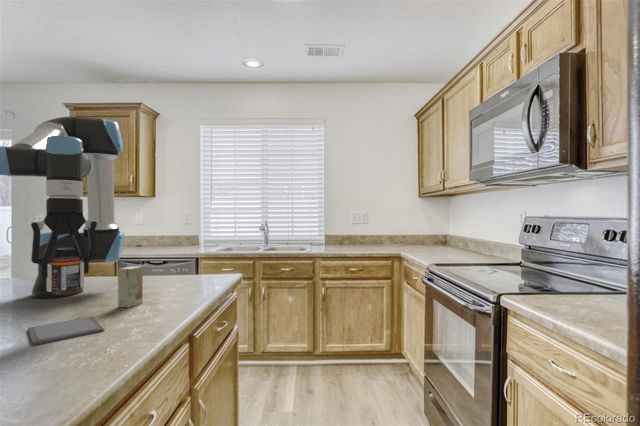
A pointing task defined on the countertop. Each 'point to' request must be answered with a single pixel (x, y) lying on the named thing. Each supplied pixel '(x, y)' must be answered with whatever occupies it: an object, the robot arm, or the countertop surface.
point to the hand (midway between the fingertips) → (65, 288)
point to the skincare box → (130, 286)
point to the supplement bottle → (65, 272)
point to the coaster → (63, 330)
